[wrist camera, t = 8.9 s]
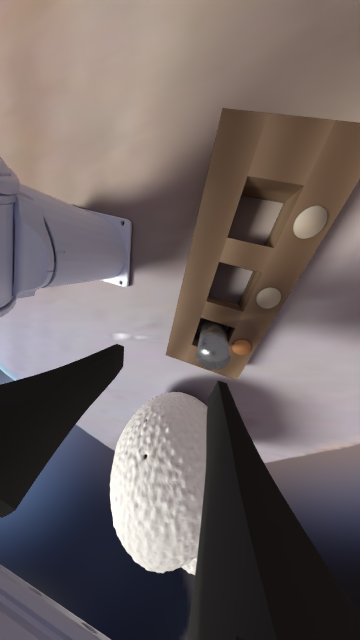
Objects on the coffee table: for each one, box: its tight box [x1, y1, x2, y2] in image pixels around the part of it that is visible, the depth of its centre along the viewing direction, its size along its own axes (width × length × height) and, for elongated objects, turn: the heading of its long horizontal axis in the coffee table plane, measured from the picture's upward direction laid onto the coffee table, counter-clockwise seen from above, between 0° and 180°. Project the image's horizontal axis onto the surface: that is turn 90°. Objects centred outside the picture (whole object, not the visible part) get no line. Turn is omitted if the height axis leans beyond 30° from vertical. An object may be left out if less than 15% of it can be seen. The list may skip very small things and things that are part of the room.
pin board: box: [166, 108, 360, 380], centre depth 14 cm, size 10×22×3 cm, turn 167°
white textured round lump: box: [110, 392, 207, 575], centre depth 19 cm, size 20×18×16 cm
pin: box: [196, 319, 230, 370], centre depth 15 cm, size 3×3×7 cm
